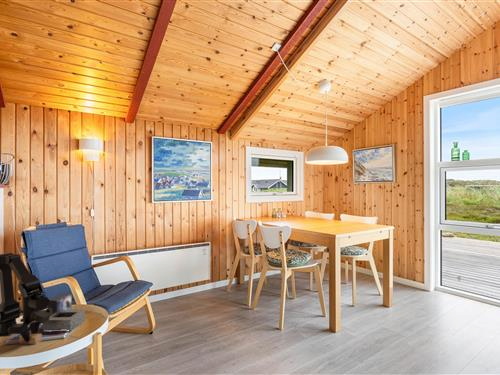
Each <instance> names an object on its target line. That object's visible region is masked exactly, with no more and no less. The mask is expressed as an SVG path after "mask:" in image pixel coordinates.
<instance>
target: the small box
mask: <svg viewBox="0 0 500 375" xmlns="http://www.w3.org/2000/svg"><path fill="white" fill-rule="evenodd" d="M48 299H49V305H48V306H47V309H48V308H52V314H54V313H55V312H57V311H58V310H73V309H72V308H73V307H72V306H73V304H72V302H73V301H72V299H73V298H72V293H65V292H64V293H60V294H59V295H56V296H54V297H51V298H48Z"/></svg>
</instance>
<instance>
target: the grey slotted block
mask: <svg viewBox="0 0 500 375" xmlns="http://www.w3.org/2000/svg"><path fill="white" fill-rule="evenodd" d="M85 314H86V310H85V309H72V310H58V311H57V312H55V313H54V314H52V315H51V316H50V318H49V320H48V321H46V322H45V323H43V324H42V331H43V330H61V329H67V330H69V332H68V333H71V332H72V331H73V330H75V329H76V328H78V327H79V326H80V325H82V323H85V321H86V317H85V316H86V315H85Z"/></svg>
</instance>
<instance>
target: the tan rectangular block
mask: <svg viewBox="0 0 500 375" xmlns="http://www.w3.org/2000/svg"><path fill="white" fill-rule="evenodd" d="M41 341H43V334H42V333H37V334H31V332H30V337H29V342H26V341H25V340H24V338H23V337H22V336H21V335H20V336H19V344H22V345H23V344H25V345H37V344H39V343H40V342H41Z"/></svg>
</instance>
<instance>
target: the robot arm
mask: <svg viewBox="0 0 500 375" xmlns="http://www.w3.org/2000/svg"><path fill="white" fill-rule="evenodd" d="M12 272H13V273H14V275H15V277H16V278H17V280H18V283H17V287H18V290H19V292H20V297H21V298H22V300H21V301H22V307H21V305H20V304H21V303H20V302H19V301H18V300H16V299H15V294H14V293H15V292H14V283H13V273H12ZM0 296H1V302H0V336H1V337H2V336H10V335H17V334H18V335H20V337H21V336H22V337H23V338H24V340H25V341H26V342H29V337H30V333H31V334H38V332H39V328H40V326H41V324H42V325H43V323H45V322H46V321H48V320H49V318H50V316H51V315H52V308H48V305H49V299H50V298H48V297H47V296H46V295H45V287H44V285H43V284H42V282H41V280H40V279H39V278H38V277H37V276H36V275H35V274H32V273H31V272H30V270H29V269H28V268H27V266H26V265H25V263H24V261H23V260H22V258H21V254H19V253H12V252H6V253H1V254H0ZM21 308H22V309H21ZM46 308H47V309H46ZM21 314H22V318H20V316H21ZM19 318H20V321H19V322H20V323H17V319H19Z"/></svg>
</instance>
